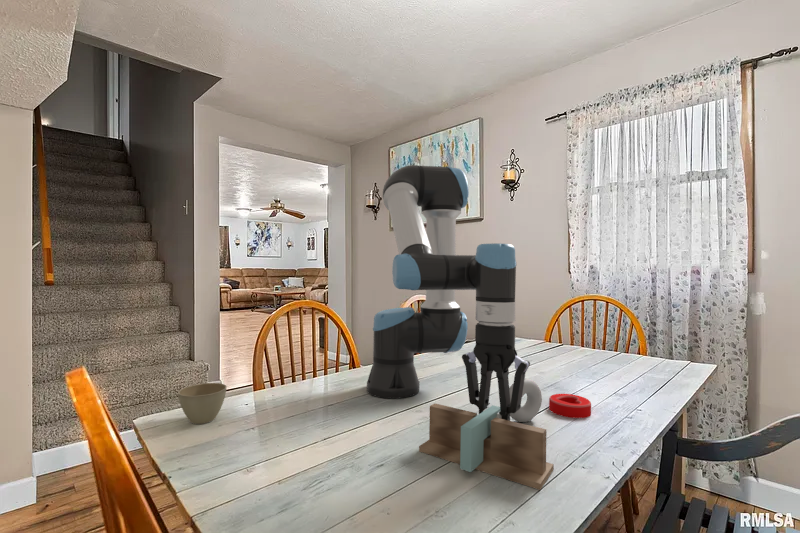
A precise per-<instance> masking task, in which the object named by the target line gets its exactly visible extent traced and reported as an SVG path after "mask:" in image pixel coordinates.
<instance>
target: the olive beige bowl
mask: <svg viewBox="0 0 800 533" xmlns="http://www.w3.org/2000/svg"><path fill="white" fill-rule="evenodd" d="M226 393H227V384H225V383H221V382H205V383H197V384H193V385H189V386H186V387H183V388H181V389H179V390H178V391H177V395H178V396H177V397H178V400H179V404H180V407H181V409H182V411H183V413H184V414H185V417H186V418H187V420H188V421H189V422H190V423H192V424H194V425H202V424H203V425H204V424H207V423H210V422H212V421H214V420H215V419H216V417H217V416H218V415H219V412H221V409H222V407H223V403H224V402H225V398H226Z"/></svg>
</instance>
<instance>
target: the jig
mask: <svg viewBox="0 0 800 533" xmlns="http://www.w3.org/2000/svg"><path fill="white" fill-rule="evenodd" d="M477 415H478V413H477V412H473V411H470V410H465V409H461V408H457V407H452V406H448V405H443V404H439V403H433V404H430V405H429V427H428V428H429V431H428V432H429V435H428V436H429V438H428V440H426V441H424V442H423V443H421V444H420V445H418V452H420V453H423V454H426V455H429V456H432V457H436V458H438V459H442V460H445V461H449V462H451V463H454V464H458V465H460V449H461V426H462V425H464V424H465V423H467V422H468V421H470V420H471V419H473V418H474V417H476V416H477ZM474 470H477V471H480V472H482V473H483V472H484V473H486V474H489V475H492V476H495V477H498V478H501V479H504V480H508V481H511V482H514V483H518V484H521V485H523V486H527V487H530V488H533V489H536V490H539V491H541V490H542V489H543V487H544V485H545V484H546V483H547V481H548V479H549V478H550V477H551V475H552V474H553V472H554V470H555V467H554V463H551V462H547V429H545V428H543V427H537V426H535V425H534V426H533V425H530V424H525V423H522V422H518V421H512V420H510V421H508V420H504V419H500V418H496V417H495V418H494V419H492V420H491V435H489V436H488V437H487V438H486V439H484V447H483V462H482V463H481V464H480V465H478V466H477V467H476V468H475V469H474Z"/></svg>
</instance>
